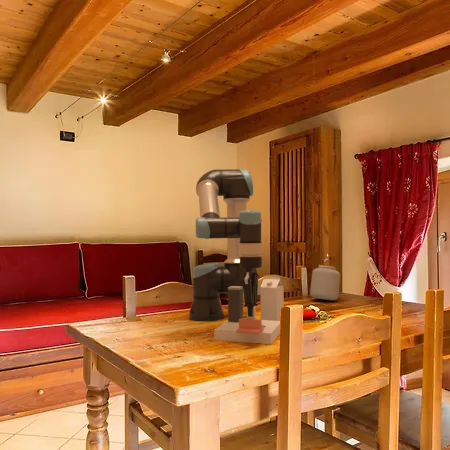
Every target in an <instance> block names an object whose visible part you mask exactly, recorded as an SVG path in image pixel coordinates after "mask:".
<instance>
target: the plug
mask: <svg viewBox="0 0 450 450" xmlns="http://www.w3.org/2000/svg"><path fill="white" fill-rule="evenodd" d="M227 313H228V314H227V321H228V322H239V319H240V318H241V319H244V293H243V286H230V287H228V293H227Z"/></svg>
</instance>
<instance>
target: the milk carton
mask: <svg viewBox="0 0 450 450" xmlns="http://www.w3.org/2000/svg"><path fill="white" fill-rule="evenodd" d="M259 290H260V295H259V296H260V320H270V321H280V312H281V308H282V307H283V306H285V305H284V304H285V303H284V302H285V301H284V300H285V299H284V296H285V293H284V290H285V289H284V283H283V282H282V280H281V276H271V275H270V276H268V275H263V280H262V283H261V284H260V289H259Z"/></svg>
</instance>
